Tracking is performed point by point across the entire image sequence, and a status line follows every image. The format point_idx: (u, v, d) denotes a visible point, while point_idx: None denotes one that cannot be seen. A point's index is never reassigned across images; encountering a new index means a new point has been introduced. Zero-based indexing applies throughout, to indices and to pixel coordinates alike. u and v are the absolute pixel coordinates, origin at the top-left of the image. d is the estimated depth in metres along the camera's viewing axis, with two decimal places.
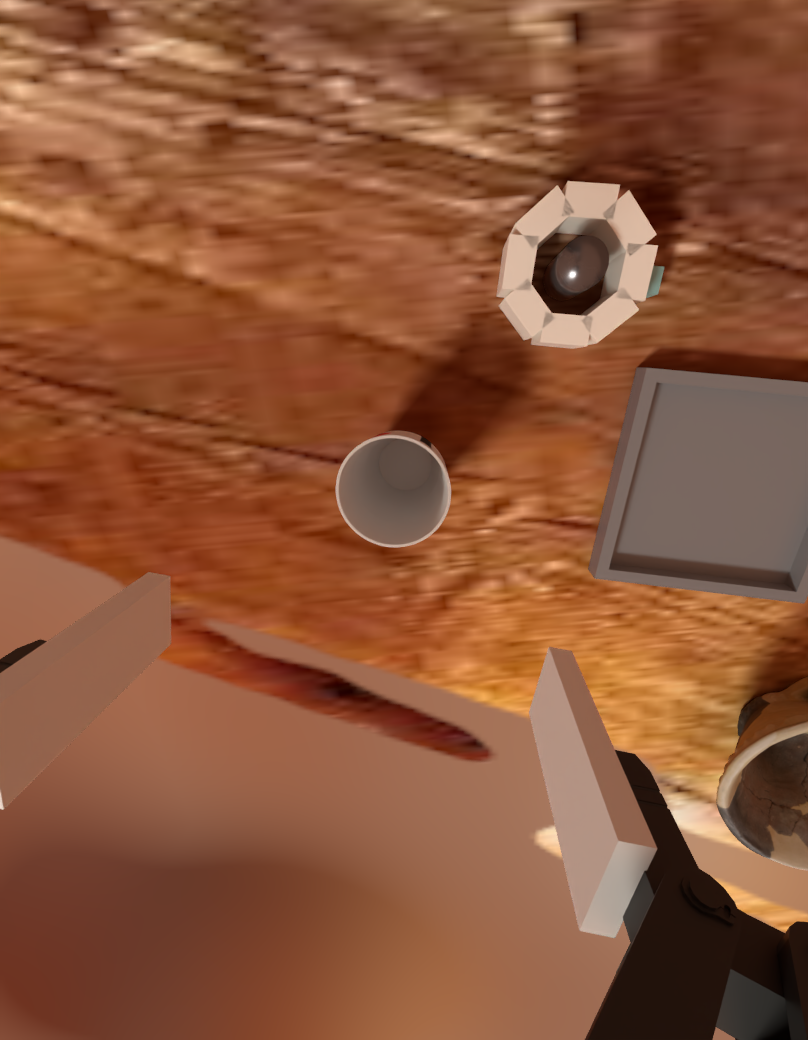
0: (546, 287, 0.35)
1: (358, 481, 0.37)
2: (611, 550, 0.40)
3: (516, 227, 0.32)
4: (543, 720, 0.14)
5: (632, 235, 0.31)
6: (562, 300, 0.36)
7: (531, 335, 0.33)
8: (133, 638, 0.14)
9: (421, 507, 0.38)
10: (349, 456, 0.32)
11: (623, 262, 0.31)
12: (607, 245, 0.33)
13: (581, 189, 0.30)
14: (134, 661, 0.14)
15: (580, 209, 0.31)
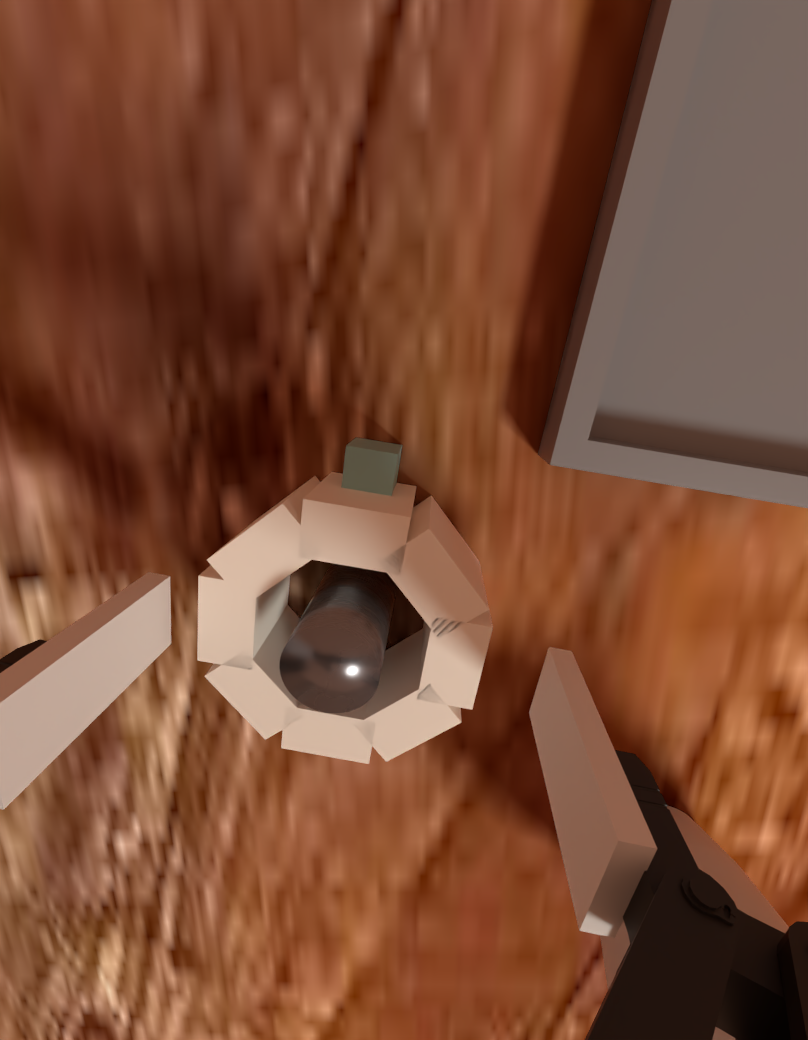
0: None
1: None
2: None
3: None
4: (543, 720, 0.14)
5: (283, 550, 0.15)
6: None
7: (457, 722, 0.17)
8: (133, 638, 0.14)
9: None
10: None
11: None
12: None
13: (209, 639, 0.16)
14: (134, 661, 0.14)
15: (241, 640, 0.16)
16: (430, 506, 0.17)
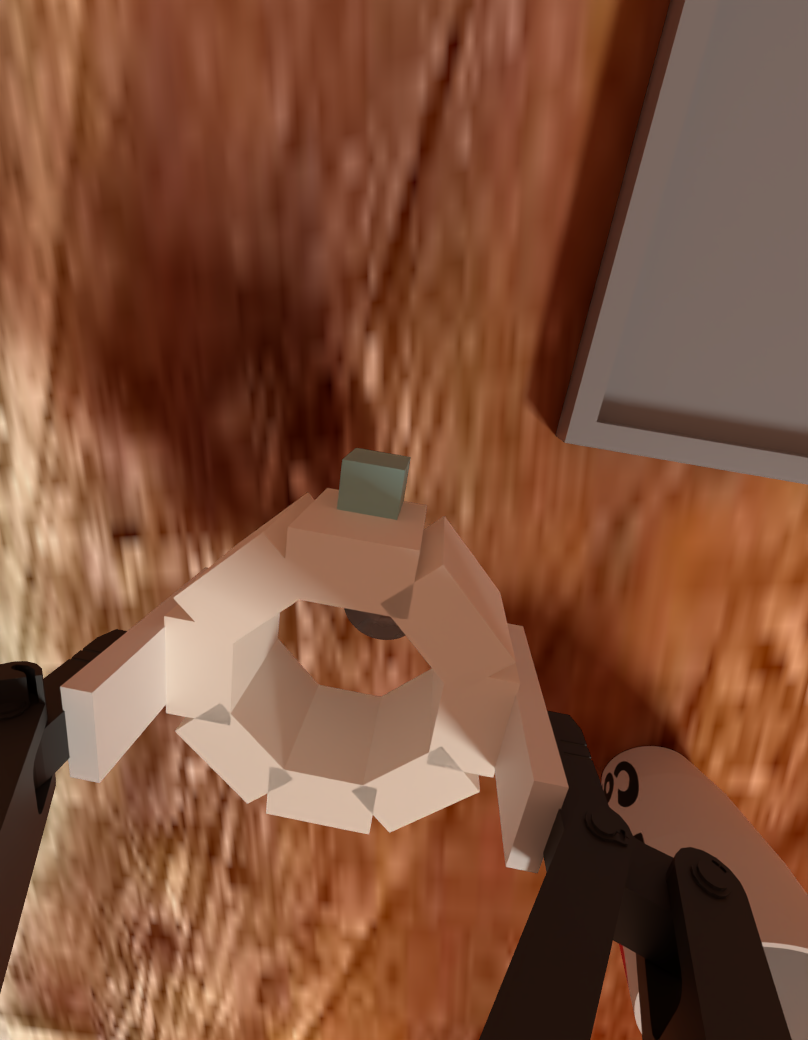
0: None
1: None
2: None
3: None
4: None
5: (265, 587, 0.12)
6: None
7: (475, 791, 0.14)
8: None
9: None
10: None
11: (325, 604, 0.12)
12: None
13: (179, 689, 0.14)
14: None
15: (216, 692, 0.13)
16: (443, 531, 0.14)
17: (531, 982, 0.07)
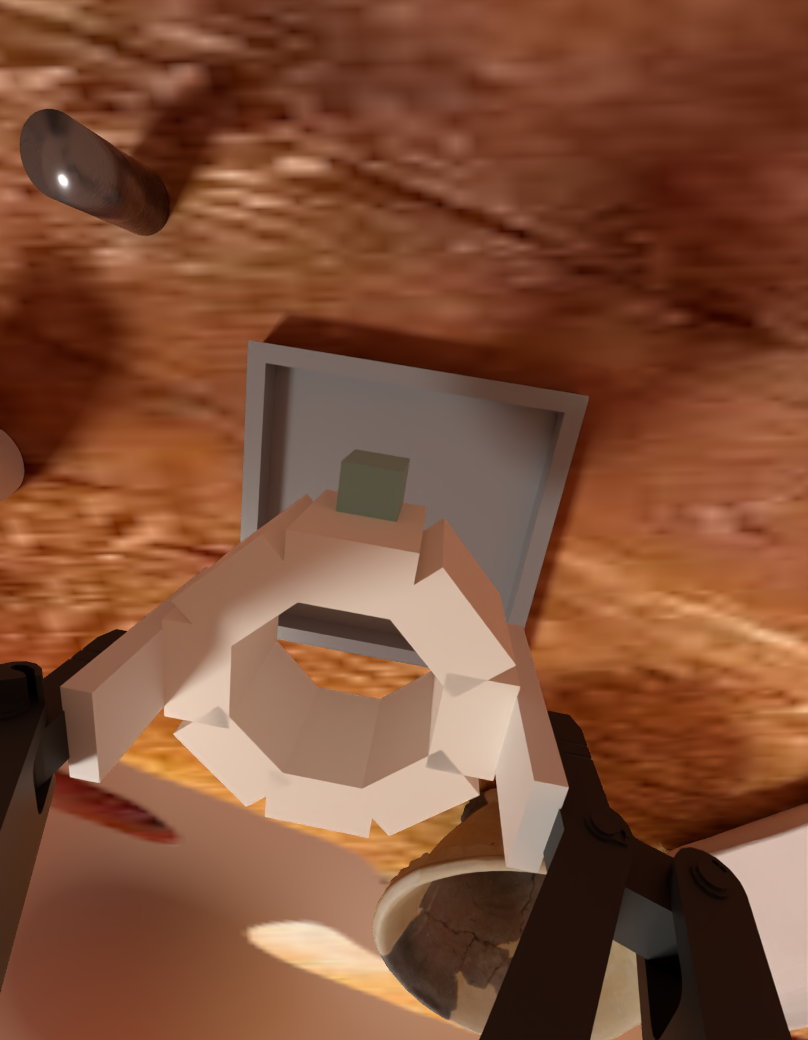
0: None
1: None
2: None
3: None
4: None
5: (263, 590, 0.12)
6: (142, 234, 0.25)
7: (474, 794, 0.14)
8: None
9: None
10: None
11: (323, 606, 0.12)
12: None
13: (177, 692, 0.13)
14: None
15: (214, 695, 0.13)
16: (443, 533, 0.14)
17: (531, 982, 0.07)
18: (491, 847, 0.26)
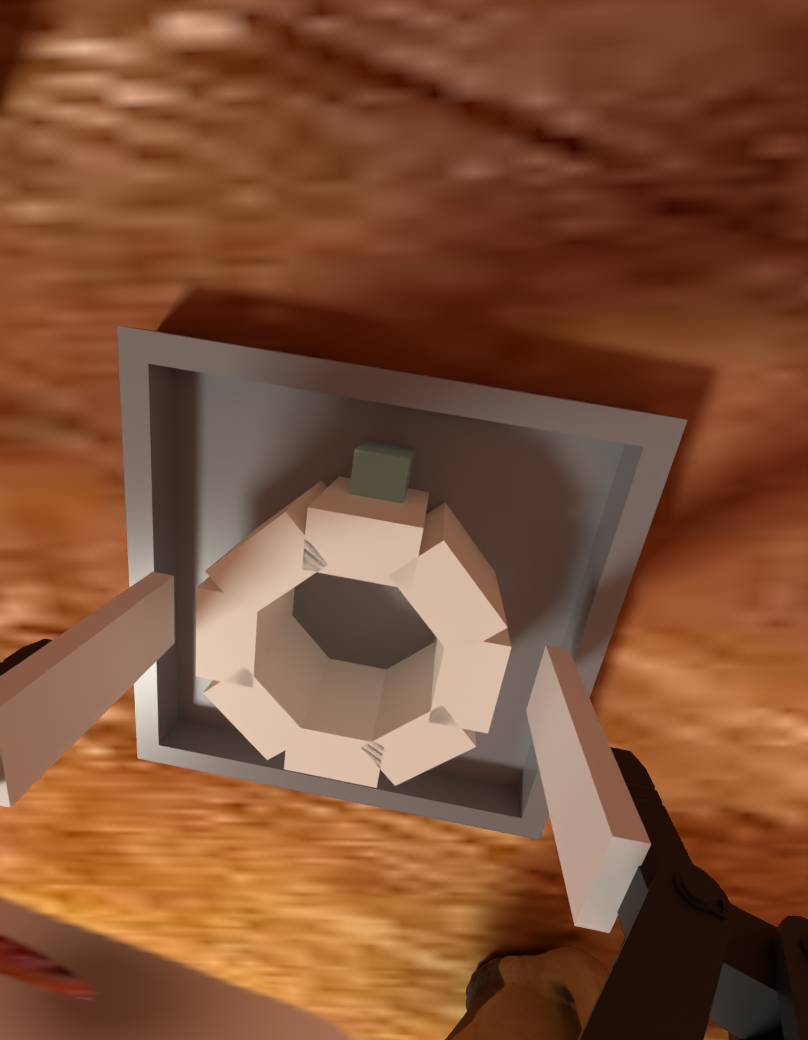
0: None
1: None
2: (153, 711, 0.19)
3: None
4: (540, 718, 0.14)
5: (286, 561, 0.14)
6: None
7: (471, 746, 0.15)
8: (137, 638, 0.14)
9: None
10: None
11: None
12: None
13: (208, 654, 0.15)
14: (138, 661, 0.14)
15: (241, 656, 0.15)
16: (444, 514, 0.16)
17: None
18: None
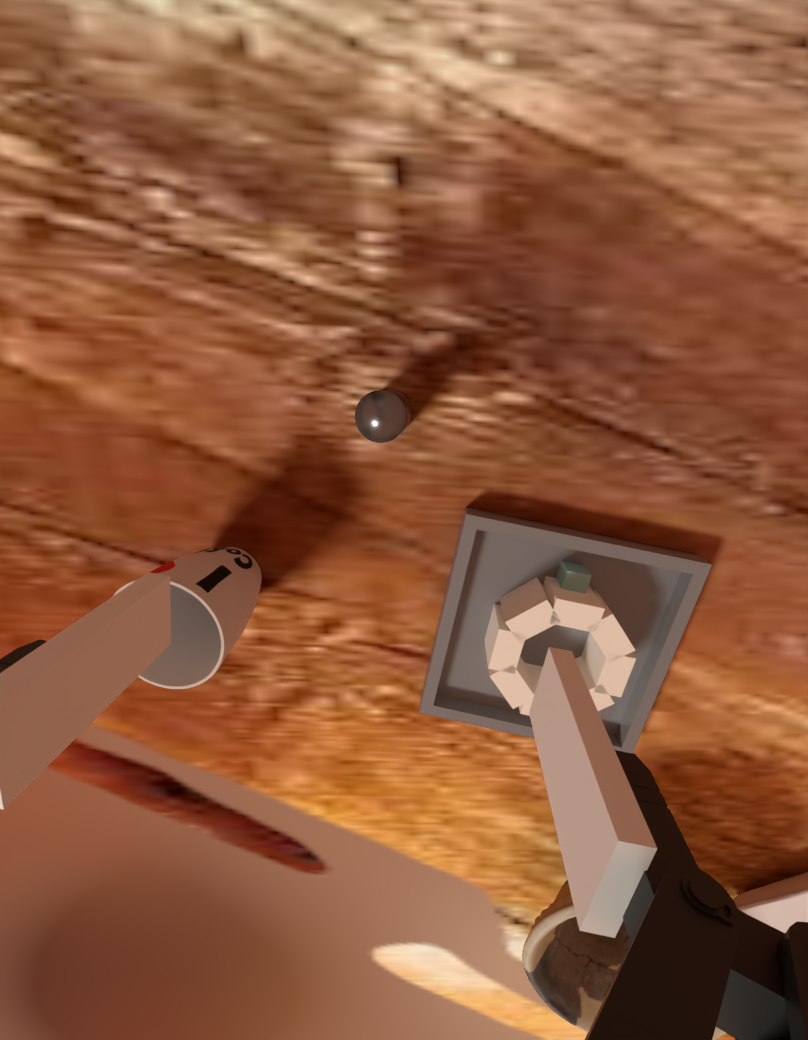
0: None
1: None
2: (435, 687, 0.38)
3: None
4: (543, 720, 0.14)
5: (543, 619, 0.33)
6: None
7: (612, 703, 0.34)
8: (133, 638, 0.14)
9: None
10: None
11: (565, 626, 0.33)
12: None
13: (496, 658, 0.34)
14: (134, 661, 0.14)
15: (512, 659, 0.34)
16: (601, 598, 0.35)
17: None
18: None
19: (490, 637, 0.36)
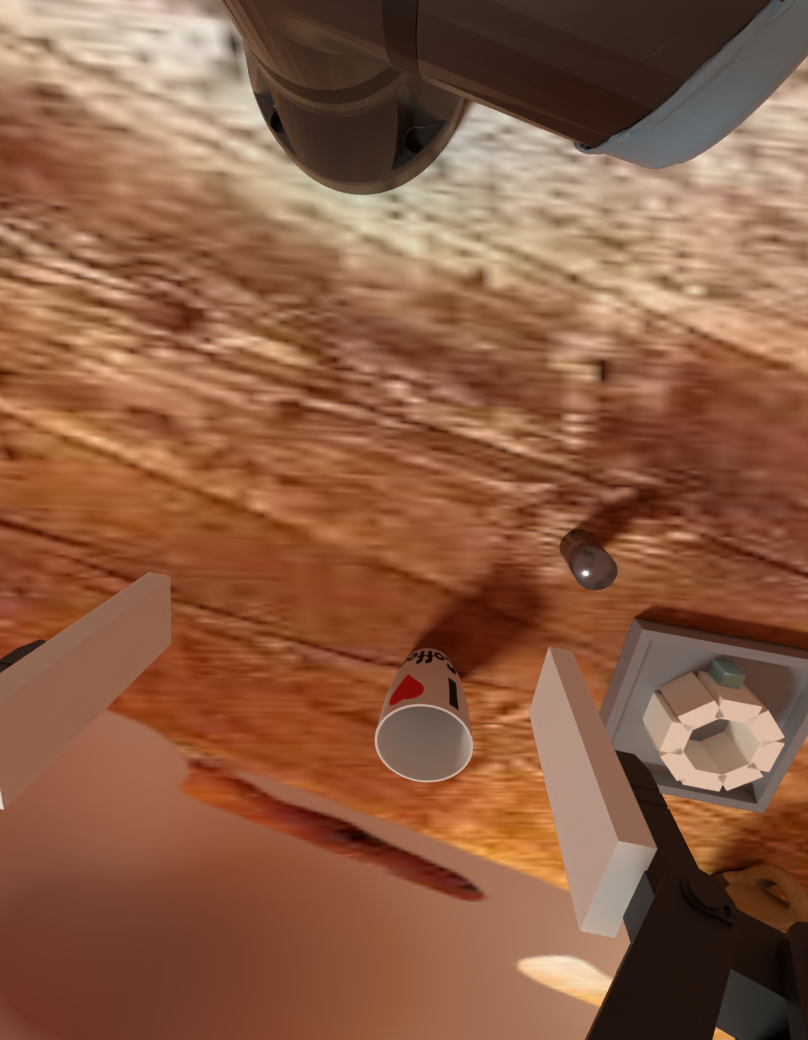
0: (562, 555, 0.41)
1: None
2: None
3: None
4: (543, 720, 0.14)
5: (709, 714, 0.41)
6: None
7: (761, 776, 0.42)
8: (133, 638, 0.14)
9: (442, 721, 0.44)
10: (389, 715, 0.37)
11: (727, 719, 0.41)
12: None
13: (667, 743, 0.42)
14: (134, 662, 0.14)
15: (680, 744, 0.42)
16: (750, 691, 0.42)
17: None
18: (774, 923, 0.43)
19: (655, 722, 0.44)
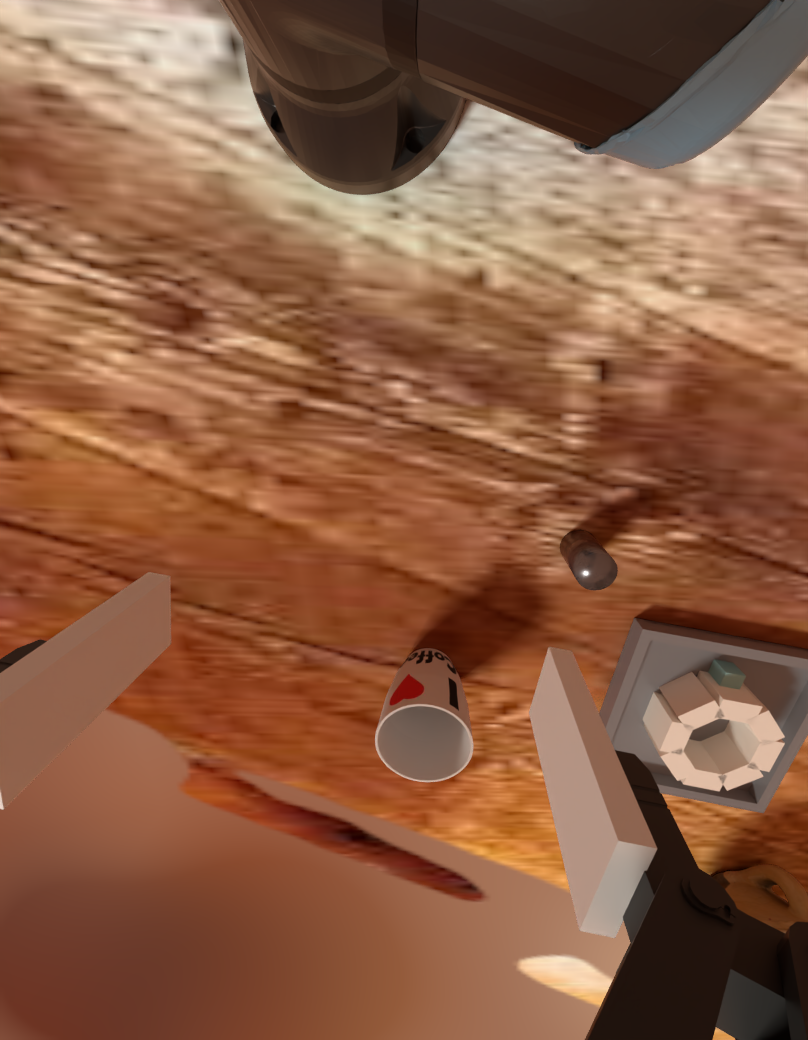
0: (562, 555, 0.41)
1: None
2: None
3: None
4: (543, 720, 0.14)
5: (710, 714, 0.41)
6: None
7: (761, 776, 0.42)
8: (133, 638, 0.14)
9: (442, 721, 0.44)
10: (389, 714, 0.37)
11: (727, 719, 0.41)
12: None
13: (667, 743, 0.42)
14: (134, 661, 0.14)
15: (681, 744, 0.42)
16: (750, 691, 0.42)
17: None
18: (775, 922, 0.43)
19: (655, 722, 0.44)
